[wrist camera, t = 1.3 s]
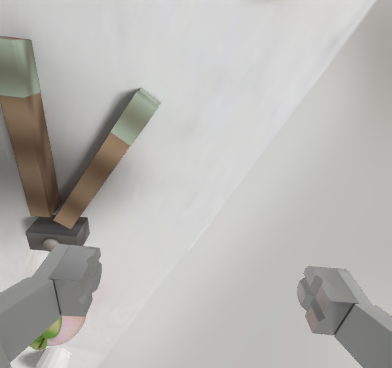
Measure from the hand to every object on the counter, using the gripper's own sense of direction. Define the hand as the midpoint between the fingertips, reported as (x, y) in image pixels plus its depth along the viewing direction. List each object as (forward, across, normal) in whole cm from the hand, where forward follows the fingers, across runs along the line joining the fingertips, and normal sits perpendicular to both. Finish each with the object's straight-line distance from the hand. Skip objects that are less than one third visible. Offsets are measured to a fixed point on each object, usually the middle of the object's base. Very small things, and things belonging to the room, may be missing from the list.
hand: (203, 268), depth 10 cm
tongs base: (+22, +17, +6) cm, 29 cm away
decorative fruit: (+23, +18, +32) cm, 43 cm away
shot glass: (+24, +24, +54) cm, 64 cm away
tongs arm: (+22, +11, +6) cm, 25 cm away
